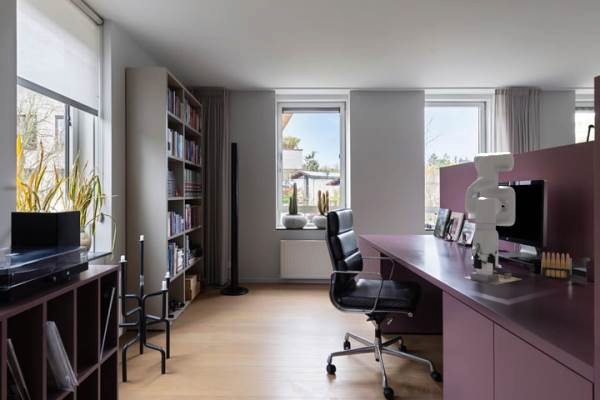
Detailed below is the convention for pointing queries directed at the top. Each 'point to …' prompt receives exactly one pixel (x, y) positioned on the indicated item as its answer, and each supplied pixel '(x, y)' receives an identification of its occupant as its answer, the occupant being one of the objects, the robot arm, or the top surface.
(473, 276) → the frame
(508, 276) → the board
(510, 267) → the top surface
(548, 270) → the ammunition clip
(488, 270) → the plug
